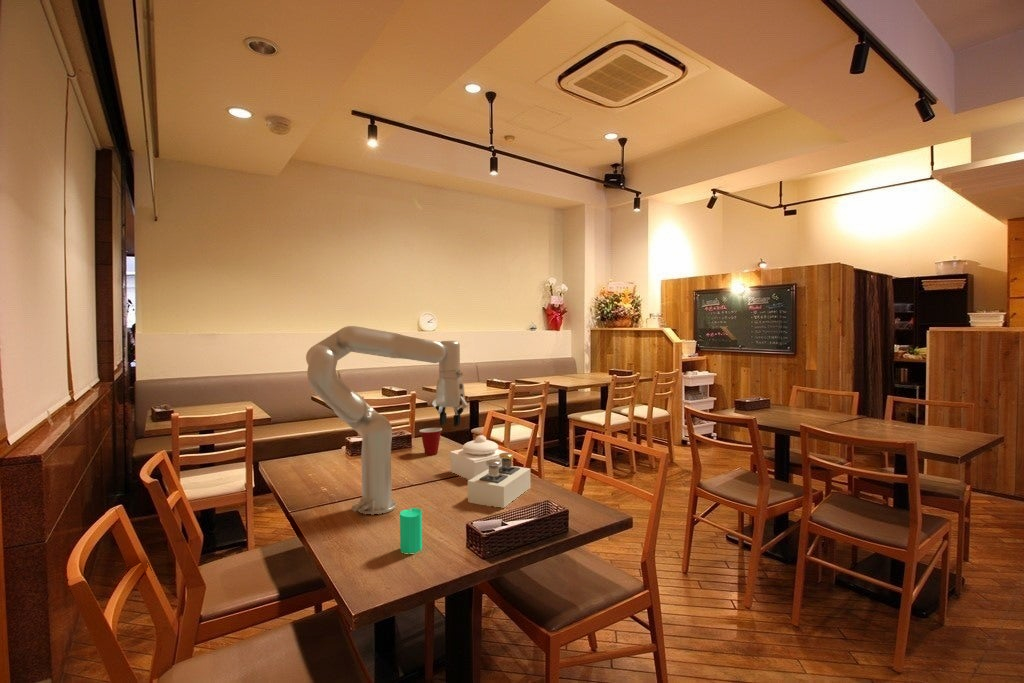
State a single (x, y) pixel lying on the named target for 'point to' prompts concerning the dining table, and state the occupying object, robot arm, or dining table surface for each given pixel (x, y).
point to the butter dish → (474, 457)
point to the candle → (411, 530)
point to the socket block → (499, 487)
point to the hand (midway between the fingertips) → (450, 424)
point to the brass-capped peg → (506, 461)
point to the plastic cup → (431, 440)
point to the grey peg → (493, 468)
